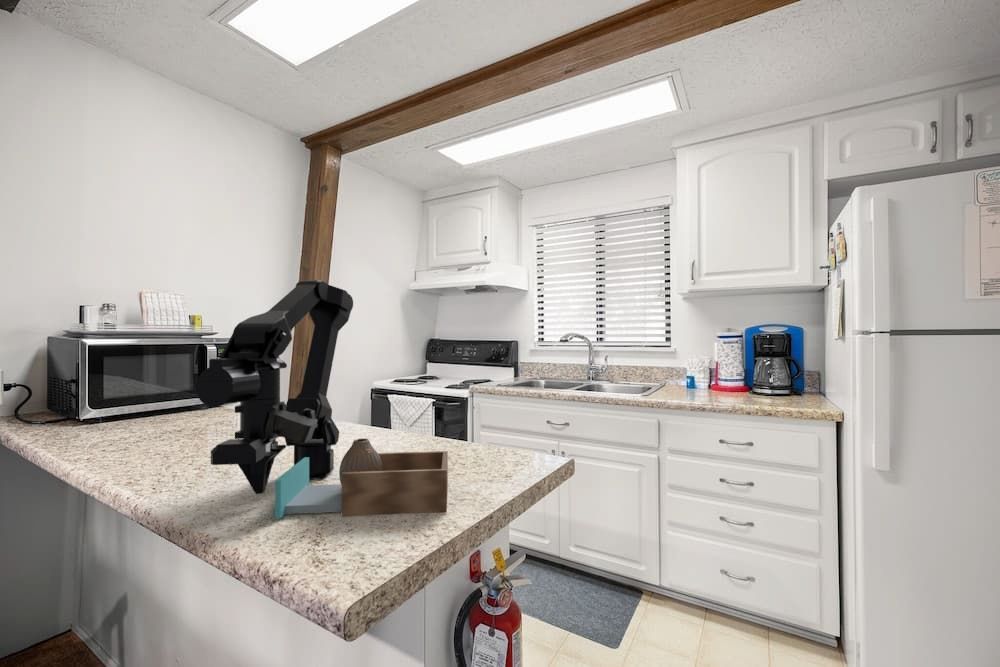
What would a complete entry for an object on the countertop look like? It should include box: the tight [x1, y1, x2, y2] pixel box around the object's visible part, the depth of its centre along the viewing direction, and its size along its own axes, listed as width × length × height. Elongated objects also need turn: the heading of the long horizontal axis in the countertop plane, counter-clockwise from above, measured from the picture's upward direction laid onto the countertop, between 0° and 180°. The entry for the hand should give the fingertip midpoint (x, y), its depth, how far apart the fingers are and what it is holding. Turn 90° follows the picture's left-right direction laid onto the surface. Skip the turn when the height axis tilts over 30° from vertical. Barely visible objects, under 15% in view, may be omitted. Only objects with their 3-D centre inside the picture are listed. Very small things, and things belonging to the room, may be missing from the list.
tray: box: [274, 457, 341, 520], centre depth 73 cm, size 16×13×6 cm
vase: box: [338, 438, 383, 484], centre depth 73 cm, size 7×7×9 cm
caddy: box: [340, 450, 449, 517], centre depth 74 cm, size 16×12×6 cm
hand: (260, 493), depth 72 cm, fingers closed
